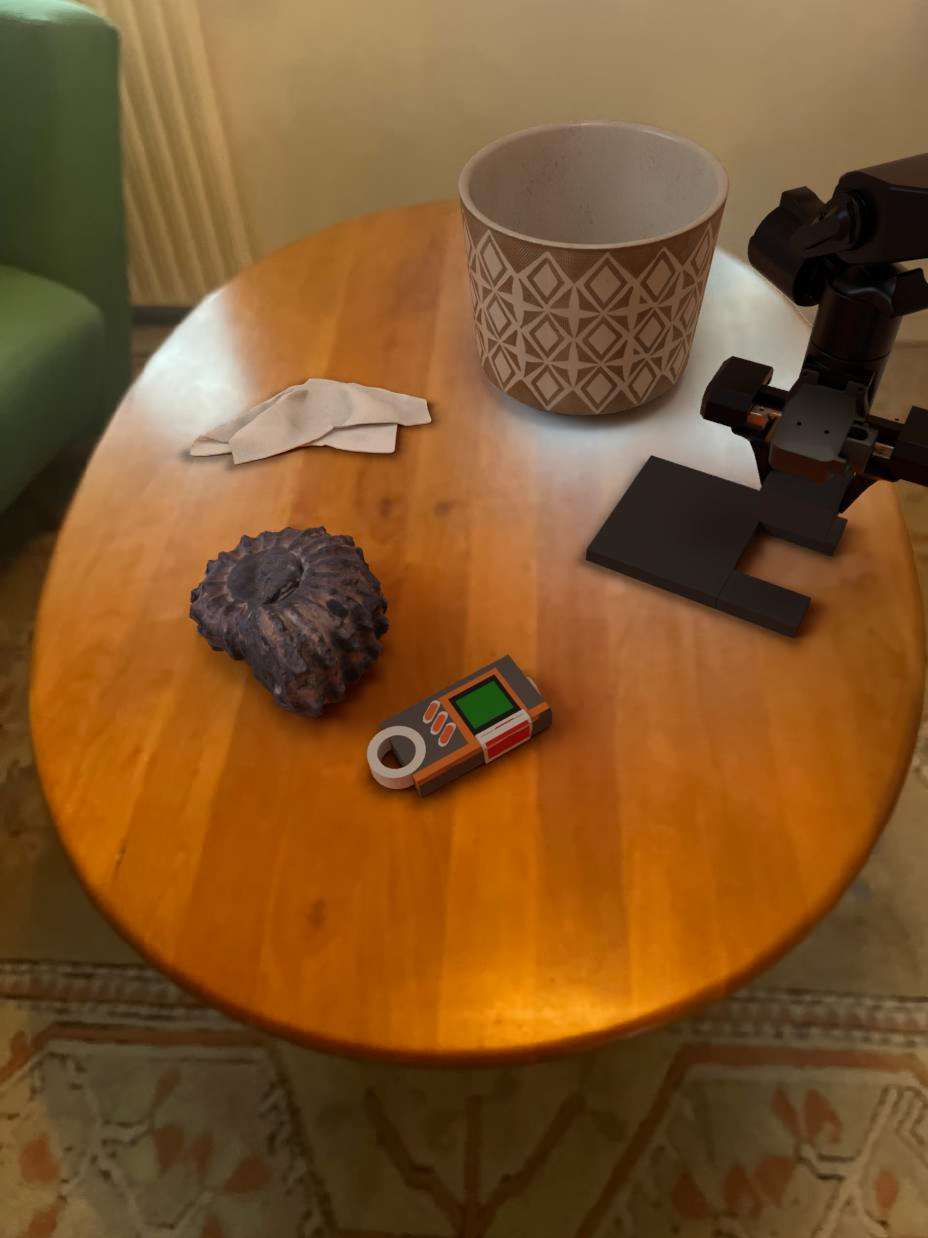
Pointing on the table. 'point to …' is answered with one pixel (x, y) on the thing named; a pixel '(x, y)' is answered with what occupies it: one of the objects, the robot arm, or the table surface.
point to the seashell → (294, 613)
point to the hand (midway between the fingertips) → (802, 497)
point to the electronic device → (459, 728)
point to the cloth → (316, 421)
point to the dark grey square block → (801, 503)
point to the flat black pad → (700, 543)
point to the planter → (589, 260)
